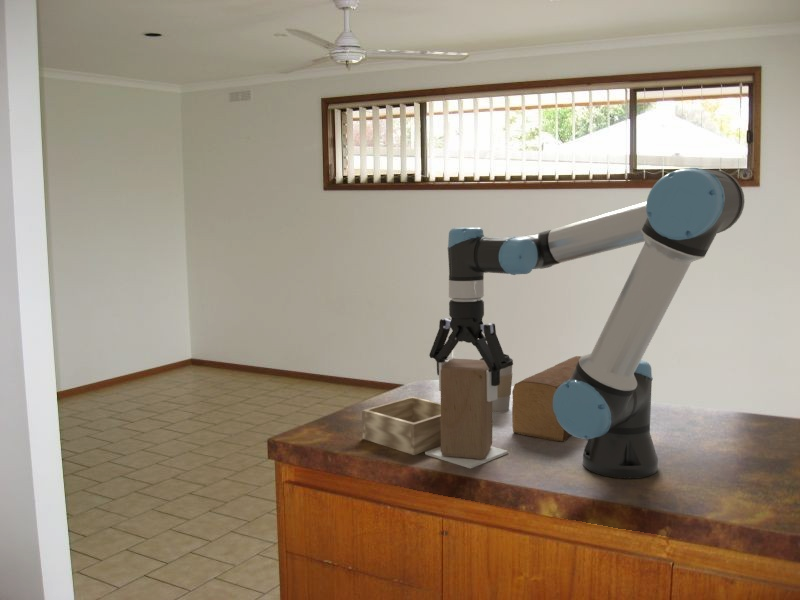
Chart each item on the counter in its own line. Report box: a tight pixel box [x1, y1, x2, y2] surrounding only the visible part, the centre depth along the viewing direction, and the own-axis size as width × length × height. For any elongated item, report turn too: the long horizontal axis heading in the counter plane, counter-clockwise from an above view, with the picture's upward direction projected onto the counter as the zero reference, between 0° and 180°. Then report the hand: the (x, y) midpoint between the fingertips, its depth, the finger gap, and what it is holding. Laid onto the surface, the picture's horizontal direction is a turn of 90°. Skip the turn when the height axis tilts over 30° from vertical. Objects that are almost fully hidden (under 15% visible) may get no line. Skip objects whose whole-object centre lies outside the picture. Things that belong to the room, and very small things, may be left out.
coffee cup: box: [479, 353, 514, 413], centre depth 203 cm, size 9×9×15 cm
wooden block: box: [440, 358, 493, 459], centre depth 167 cm, size 10×10×20 cm
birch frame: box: [361, 395, 441, 456], centre depth 180 cm, size 17×17×7 cm
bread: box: [511, 355, 583, 442], centre depth 192 cm, size 14×34×14 cm, turn 145°
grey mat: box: [424, 445, 509, 469], centre depth 168 cm, size 13×13×1 cm
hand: (467, 395), depth 166 cm, fingers open, 13 cm apart
